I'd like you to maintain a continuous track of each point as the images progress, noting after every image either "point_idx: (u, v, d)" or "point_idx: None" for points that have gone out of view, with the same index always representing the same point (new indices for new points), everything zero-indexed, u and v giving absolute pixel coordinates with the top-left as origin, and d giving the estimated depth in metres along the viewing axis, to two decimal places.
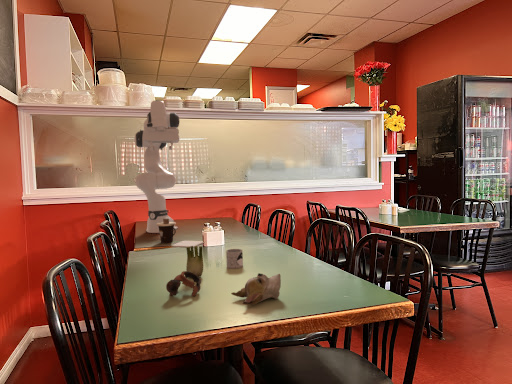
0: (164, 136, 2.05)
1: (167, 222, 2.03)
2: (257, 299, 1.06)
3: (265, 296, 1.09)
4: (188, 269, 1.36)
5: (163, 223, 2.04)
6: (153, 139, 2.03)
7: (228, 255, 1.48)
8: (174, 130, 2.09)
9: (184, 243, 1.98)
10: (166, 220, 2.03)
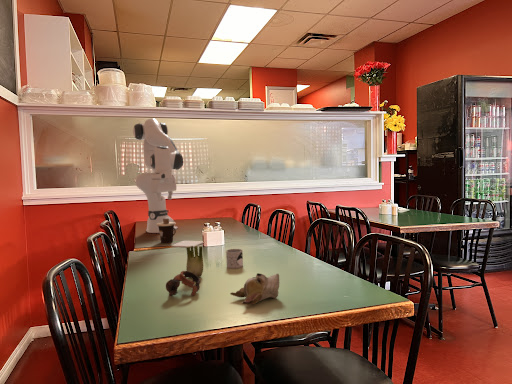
0: (168, 187, 2.04)
1: (167, 222, 2.03)
2: (256, 299, 1.06)
3: (265, 296, 1.09)
4: (188, 269, 1.36)
5: (163, 223, 2.04)
6: (163, 190, 1.99)
7: (228, 255, 1.48)
8: (174, 179, 2.10)
9: (184, 243, 1.98)
10: (166, 220, 2.03)
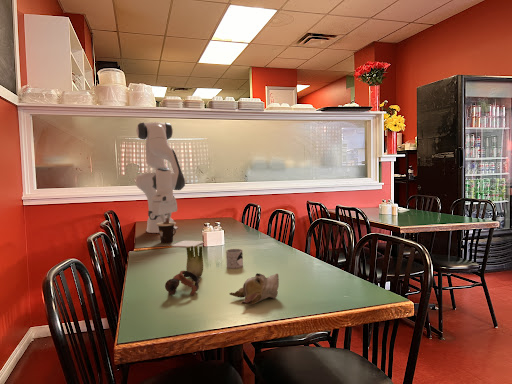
0: (169, 208, 2.05)
1: (167, 222, 2.03)
2: (256, 299, 1.06)
3: (264, 296, 1.09)
4: (188, 269, 1.36)
5: (163, 223, 2.04)
6: (164, 212, 2.00)
7: (228, 255, 1.48)
8: (175, 200, 2.11)
9: (184, 243, 1.98)
10: (166, 220, 2.03)
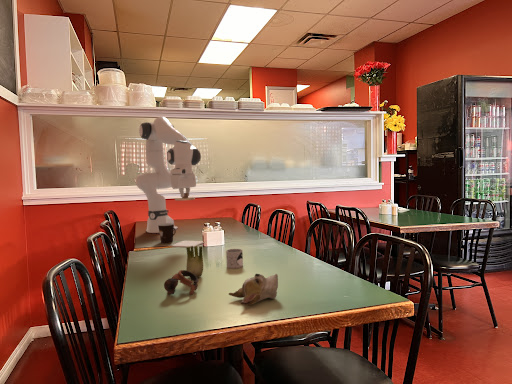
0: (188, 183, 1.97)
1: (186, 197, 1.95)
2: (254, 299, 1.05)
3: (263, 297, 1.09)
4: (188, 269, 1.36)
5: (182, 198, 1.95)
6: (183, 186, 1.91)
7: (228, 255, 1.48)
8: (193, 175, 2.02)
9: (184, 243, 1.98)
10: (185, 195, 1.95)
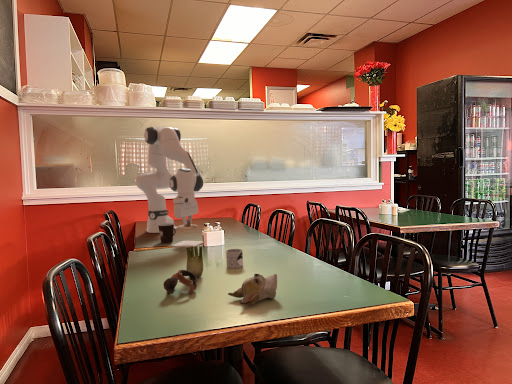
0: (191, 211, 1.97)
1: (188, 224, 1.96)
2: (254, 299, 1.06)
3: (262, 297, 1.09)
4: (188, 269, 1.36)
5: (184, 226, 1.96)
6: (186, 215, 1.92)
7: (228, 255, 1.48)
8: (196, 202, 2.03)
9: (184, 243, 1.98)
10: (187, 222, 1.96)
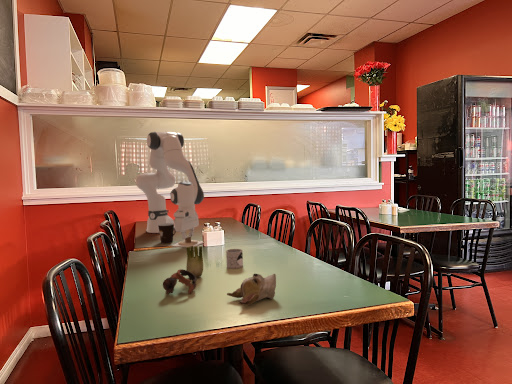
0: (191, 224, 1.98)
1: (189, 241, 1.97)
2: (253, 299, 1.06)
3: (261, 296, 1.09)
4: (188, 269, 1.36)
5: (185, 242, 1.97)
6: (186, 228, 1.93)
7: (228, 255, 1.48)
8: (196, 215, 2.04)
9: None
10: (188, 239, 1.96)
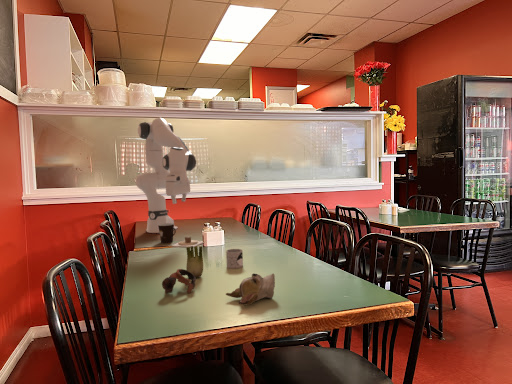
0: (183, 189, 1.99)
1: (189, 241, 1.97)
2: (252, 299, 1.06)
3: (260, 296, 1.09)
4: (188, 269, 1.36)
5: (185, 242, 1.97)
6: (177, 193, 1.94)
7: (228, 255, 1.48)
8: (188, 181, 2.05)
9: None
10: (188, 239, 1.96)
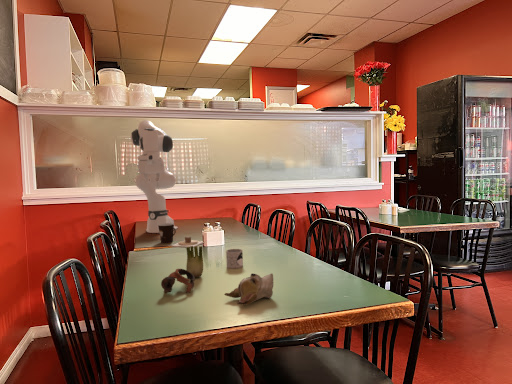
0: (156, 169, 2.07)
1: (189, 241, 1.97)
2: (251, 299, 1.06)
3: (259, 296, 1.09)
4: (188, 269, 1.36)
5: (185, 242, 1.97)
6: (150, 172, 2.01)
7: (228, 255, 1.48)
8: (162, 162, 2.12)
9: None
10: (188, 239, 1.96)
